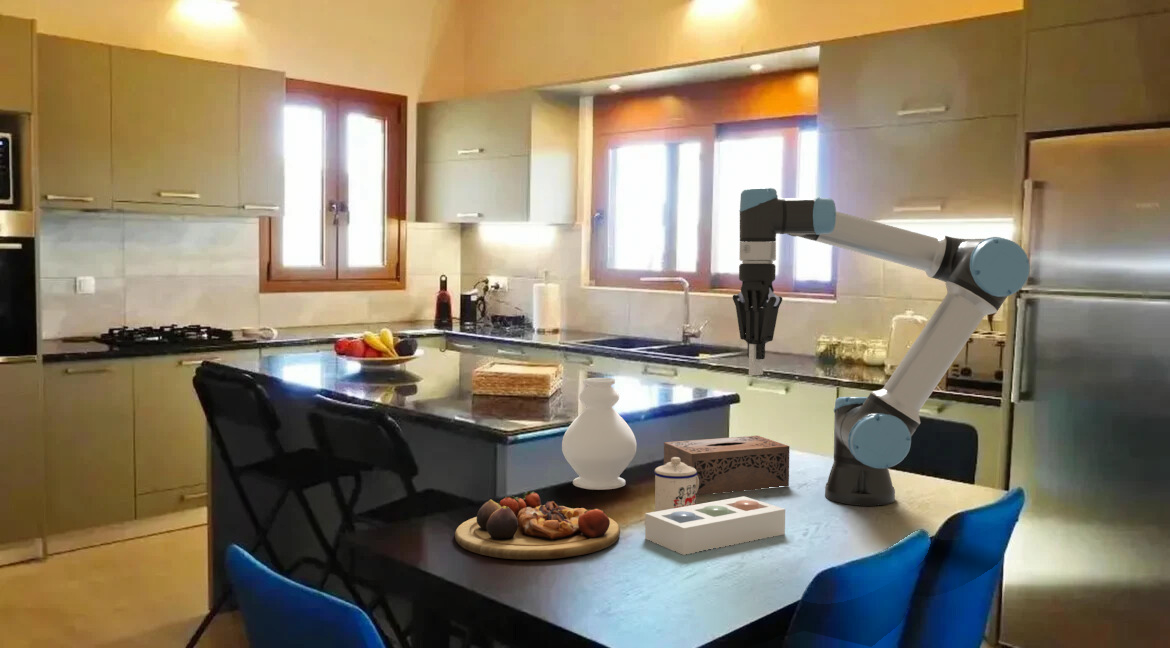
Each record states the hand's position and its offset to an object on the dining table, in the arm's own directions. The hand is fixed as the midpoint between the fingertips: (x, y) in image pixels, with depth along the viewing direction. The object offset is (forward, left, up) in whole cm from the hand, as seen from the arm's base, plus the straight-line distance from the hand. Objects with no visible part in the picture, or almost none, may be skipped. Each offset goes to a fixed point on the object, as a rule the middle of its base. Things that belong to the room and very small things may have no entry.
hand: (755, 374), depth 204 cm
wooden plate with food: (+48, -8, -30) cm, 57 cm away
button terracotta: (+11, +10, -28) cm, 32 cm away
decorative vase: (+14, -39, -30) cm, 51 cm away
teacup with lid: (+13, -9, -30) cm, 34 cm away
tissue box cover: (-11, -22, -30) cm, 39 cm away
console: (+19, +10, -29) cm, 36 cm away
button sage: (+19, +10, -28) cm, 35 cm away
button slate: (+27, +10, -28) cm, 40 cm away
